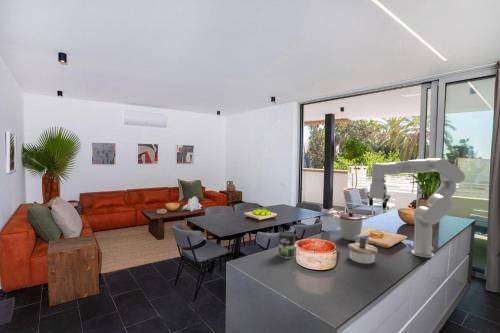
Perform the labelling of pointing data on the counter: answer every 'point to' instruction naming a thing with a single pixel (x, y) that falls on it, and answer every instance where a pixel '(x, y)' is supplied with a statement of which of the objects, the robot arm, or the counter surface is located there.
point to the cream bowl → (362, 257)
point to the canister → (350, 226)
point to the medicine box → (361, 236)
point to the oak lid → (362, 247)
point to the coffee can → (286, 244)
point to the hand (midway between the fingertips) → (377, 206)
